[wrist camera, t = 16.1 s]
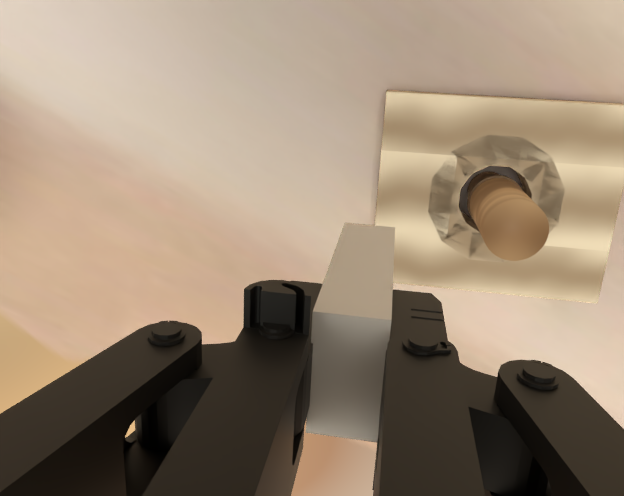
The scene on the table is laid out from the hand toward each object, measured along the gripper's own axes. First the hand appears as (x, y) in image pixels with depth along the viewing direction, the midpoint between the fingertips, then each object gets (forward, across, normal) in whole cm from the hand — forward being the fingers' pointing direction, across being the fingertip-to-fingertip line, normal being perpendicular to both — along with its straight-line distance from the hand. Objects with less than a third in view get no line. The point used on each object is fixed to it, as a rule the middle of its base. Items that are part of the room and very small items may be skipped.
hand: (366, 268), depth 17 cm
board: (+34, +9, -4) cm, 36 cm away
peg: (+34, +9, -4) cm, 36 cm away
